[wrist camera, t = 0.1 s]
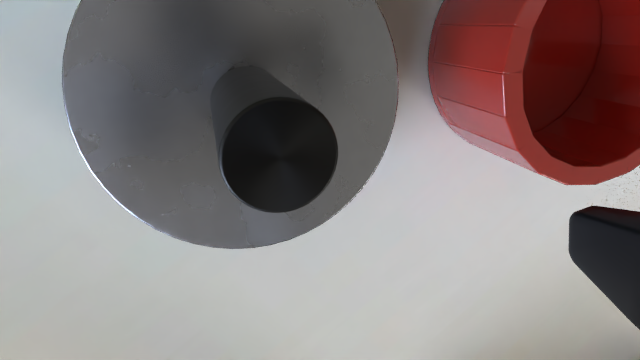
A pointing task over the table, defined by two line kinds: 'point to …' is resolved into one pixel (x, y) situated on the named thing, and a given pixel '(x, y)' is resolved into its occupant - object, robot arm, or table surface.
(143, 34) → the lid
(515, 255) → the table surface
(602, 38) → the red faceted pot
